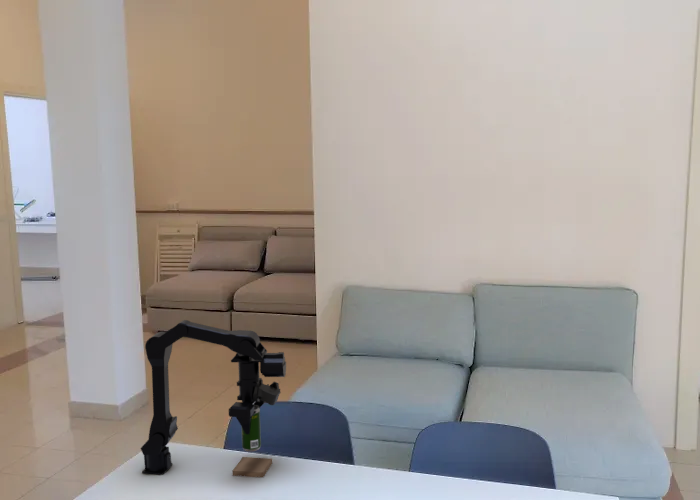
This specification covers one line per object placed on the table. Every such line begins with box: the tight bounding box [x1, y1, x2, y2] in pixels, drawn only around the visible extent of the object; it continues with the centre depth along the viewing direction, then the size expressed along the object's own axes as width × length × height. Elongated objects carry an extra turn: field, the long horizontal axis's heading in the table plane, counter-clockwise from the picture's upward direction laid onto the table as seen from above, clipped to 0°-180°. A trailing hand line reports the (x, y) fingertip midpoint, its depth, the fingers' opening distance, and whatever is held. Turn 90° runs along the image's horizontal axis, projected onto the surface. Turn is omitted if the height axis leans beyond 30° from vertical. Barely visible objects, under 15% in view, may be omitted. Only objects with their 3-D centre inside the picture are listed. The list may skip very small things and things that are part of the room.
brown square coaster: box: [231, 456, 273, 478], centre depth 184 cm, size 9×9×2 cm
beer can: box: [240, 404, 262, 453], centre depth 183 cm, size 5×5×12 cm
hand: (250, 430), depth 183 cm, fingers closed on beer can, 5 cm apart
